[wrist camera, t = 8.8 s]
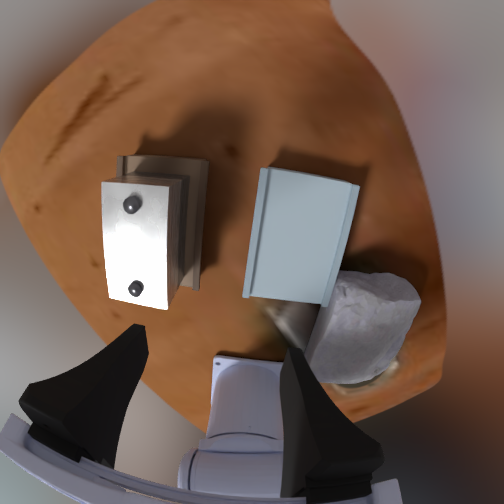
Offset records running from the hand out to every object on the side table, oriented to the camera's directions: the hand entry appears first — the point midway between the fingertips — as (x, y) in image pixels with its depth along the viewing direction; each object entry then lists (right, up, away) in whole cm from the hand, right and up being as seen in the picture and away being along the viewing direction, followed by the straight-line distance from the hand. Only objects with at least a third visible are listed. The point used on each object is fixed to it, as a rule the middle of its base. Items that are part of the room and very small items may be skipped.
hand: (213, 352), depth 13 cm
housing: (-5, +7, +7) cm, 11 cm away
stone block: (+12, -2, +12) cm, 18 cm away
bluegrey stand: (+5, +6, +8) cm, 12 cm away
